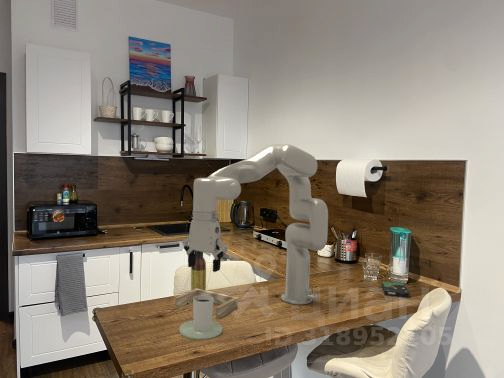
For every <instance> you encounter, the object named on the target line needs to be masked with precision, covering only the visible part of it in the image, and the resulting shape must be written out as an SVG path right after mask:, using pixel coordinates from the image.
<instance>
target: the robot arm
mask: <svg viewBox="0 0 504 378" xmlns="http://www.w3.org/2000/svg"><path fill="white" fill-rule="evenodd" d="M275 169H277V170H278V171H279V172H280V174H281V175H282V176H284V177H285V179H286V180H287V183H288V185H289V216H290V217H291V218H292V219H294V220H297V221H302V222H307V224H306V223H302V222H292V223H290V224H289V225H288V226H287V228H286V229H285V245H286V265H285V266H286V269H285V291H284V293H282V294H281V298H280V299H281V300H282V301H283V302H285V303H287V304H291V305H300V306H301V305H308V304H310V303H312V301H313V300H314V301H318V299H319V295H318V294H317V293H314V292H312V289H311V288H310V287H309V286H310V271H311V270H310V269H311V255H310V251H309V250H311V251H315V252H316V251H322V250H323V249H324V248H325V247H326V245H327V242H328V230H329V229H328V228H329V226H328V225H329V224H328V223H329V209H328V206H327V204H326V203H325V201H324V200H322V199H320V198H314V197H312V191H311V190H312V188H311V187H312V186H311V181H310V178H311V177H312V176H314V175H315V174H316V173H317V172H318V171H317V170H318V161H317V159H316V158H315V156H314V155H312V154H310V153H308V152H307V151H304V150H303V149H301V148H299V147H297V146H294V145H292V144H269V145H267V146H265V147H264V148H262V149H260V150H259V151H258V152H256V153H254V154H252V155H251V156H250V157H248V158H245V159H243V160H241V161H238V162H235V163H232V164H229V165H227V166H225V167H222V168H219V169H218V170H216V171H215V172H213V173H211V174H210V175H209V176H207V177H198V178H195V179H194V181H193V202H192V203H193V204H192V205H193V207H192V208H193V211H192V220H191V221H190V226H189V234H188V237H186V238H184V239H182V240H181V243H182V245H183V249H184V250H185V252H186V255H187V267H188V268H191V267H192V266H195V263H196V254H195V253H194V252H195V251H200V252H203V253H207V254H208V253H209V254H211V255H212V256H213V260H212V272H213V273H216V272H219V271H220V270H221V260H222V258H223V257H224V256H225V255H226V253H227V251H228V248H229V245H226V244H225V243H224V242H223V241H222V233H221V226H220V222H219V220H217V219H220V216H221V215H220V214H219V213H218V208H217V207H218V200H222V201H233V200H236V199H238V197H239V196H240V194H241V192H242V186H241V184H246V183H252V182H256V181H258V180H261V179H262V178H263V177H265V176H266V175H268V174H270V173H271V172H272V171H275ZM308 223H309V224H308Z"/></svg>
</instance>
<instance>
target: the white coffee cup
mask: <svg viewBox="0 0 504 378" xmlns="http://www.w3.org/2000/svg"><path fill="white" fill-rule="evenodd" d="M213 302H214V298H213V297H212V296H209V295H198V296H195V297H194V298H193V302H192V306H193V312H192V313H193V320H194V330H195V331H198V332H206V331H209V330H211V328H212V321H213V313H214V312H213V311H214V303H213Z"/></svg>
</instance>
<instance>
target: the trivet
mask: <svg viewBox="0 0 504 378" xmlns="http://www.w3.org/2000/svg"><path fill="white" fill-rule="evenodd" d="M223 329H224V328H223V325H221V323H219V322H218V321H214V320H212V328H211V330H209V331H206V332H198V331H195V330H194V319H193V320H189V321H186V322H184V323H182V324H181V325H180V326H179V334H180V335H181V336H182V337H184V338H187V339H190V340H196V341H197V340H199V341H205V340H211V339H215V338H217V337H219V336H220V335H221V334H222V333H223Z"/></svg>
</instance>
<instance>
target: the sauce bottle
mask: <svg viewBox="0 0 504 378" xmlns="http://www.w3.org/2000/svg"><path fill="white" fill-rule="evenodd" d="M194 253H195V254H196V263H195V266H192V267H190V291H192V290H194V289H196V288H197V289H202V290H206V289H207V262H206V260H205V257H204V252H200V251H195V252H194ZM206 291H207V290H206Z"/></svg>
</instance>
